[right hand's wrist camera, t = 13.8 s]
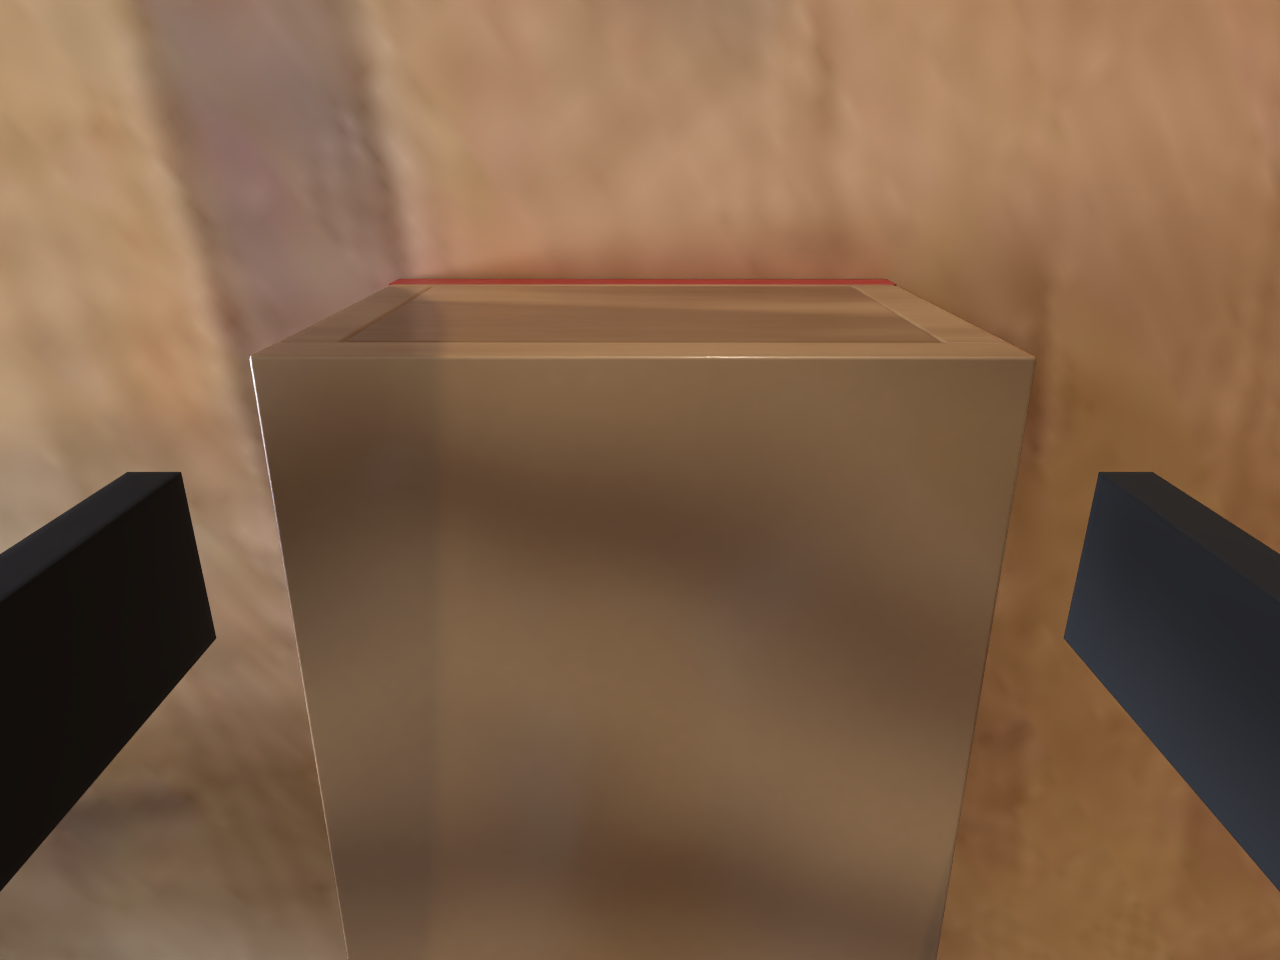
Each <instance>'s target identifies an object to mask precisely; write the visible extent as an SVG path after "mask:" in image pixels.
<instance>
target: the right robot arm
mask: <svg viewBox="0 0 1280 960" xmlns="http://www.w3.org/2000/svg"><path fill="white" fill-rule="evenodd" d="M215 639H216V635H215V630H214V625H213V621H212V616H211V611H210V606H209V602H208V597H207V592H206V588H205V583H204V578H203V573H202V569H201V564H200V559H199V555H198V550H197V545H196V541H195V536H194V531H193V526H192V522H191V517H190V512H189V508H188V503H187V498H186V493H185V489H184V484H183V479H182V475H181V472H127V473H125V474H124V475H122V476H121V477H119V478H118V479H116V480H114V481H113V482H111V483H110V484H108V485H107V486H105V487H104V488H102V489H100V490H99V491H97V492H96V493H94V494H93V495H91V496H90V497H88V498H87V499H85V500H83V501H82V502H80V503H79V504H77V505H76V506H74V507H73V508H71V509H70V510H68V511H66V512H65V513H63V514H62V515H60V516H59V517H57V518H56V519H54V520H52V521H51V522H49V523H48V524H46V525H45V526H43V527H42V528H40V529H39V530H37V531H35V532H34V533H32V534H31V535H29V536H28V537H26V538H25V539H23V540H22V541H20V542H18V543H17V544H15V545H14V546H12V547H11V548H9V549H8V550H6V551H5V552H3V553H1V554H0V891H1V890H2V889H3V888H4V887H5V885H6V884H7V883H8V882H9V881H10V880H11V878H12V877H13V876H14V875H15V874H16V873H17V871H18V870H19V869H20V868H21V867H22V866H23V864H24V863H25V862H26V861H27V860H28V858H29V857H30V856H31V855H32V854H33V853H34V851H35V850H36V849H37V848H38V847H39V846H40V844H41V843H42V842H43V841H44V840H45V839H46V837H47V836H48V835H49V834H50V833H51V832H52V830H53V829H54V828H55V827H56V826H57V824H58V823H59V822H60V821H61V820H62V819H63V817H64V816H65V815H66V814H67V813H68V812H69V810H70V809H71V808H72V807H73V806H74V805H75V803H76V802H77V801H78V800H79V799H80V797H81V796H82V795H83V794H84V793H85V792H86V790H87V789H88V788H89V787H90V786H91V785H92V783H93V782H94V781H95V780H96V779H97V778H98V776H99V775H100V774H101V773H102V772H103V770H104V769H105V768H106V767H107V766H108V765H109V763H110V762H111V761H112V760H113V759H114V758H115V756H116V755H117V754H118V753H119V752H120V751H121V749H122V748H123V747H124V746H125V745H126V743H127V742H128V741H129V740H130V739H131V738H132V736H133V735H134V734H135V733H136V732H137V731H138V729H139V728H140V727H141V726H142V725H143V724H144V722H145V721H146V720H147V719H148V718H149V717H150V715H151V714H152V713H153V712H154V711H155V709H156V708H157V707H158V706H159V705H160V704H161V702H162V701H163V700H164V699H165V698H166V697H167V695H168V694H169V693H170V692H171V691H172V690H173V688H174V687H175V686H176V685H177V684H178V682H179V681H180V680H181V679H182V678H183V677H184V675H185V674H186V673H187V672H188V671H189V670H190V668H191V667H192V666H193V665H194V664H195V663H196V661H197V660H198V659H199V658H200V657H201V655H202V654H203V653H204V652H205V651H206V650H207V648H208V647H209V646H210V645H211V644H212V643H213V641H214V640H215ZM1064 639H1065V640H1066V641H1067V643H1068V644H1069V645H1070V646H1071V647H1072V648H1073V650H1074V651H1075V652H1076V653H1077V654H1078V655H1079V657H1080V658H1081V659H1082V660H1083V661H1084V663H1085V664H1086V665H1087V666H1088V667H1089V668H1090V670H1091V671H1092V672H1093V673H1094V674H1095V675H1096V677H1097V678H1098V679H1099V680H1100V681H1101V682H1102V684H1103V685H1104V686H1105V687H1106V688H1107V690H1108V691H1109V692H1110V693H1111V694H1112V695H1113V697H1114V698H1115V699H1116V700H1117V701H1118V702H1119V704H1120V705H1121V706H1122V707H1123V708H1124V709H1125V711H1126V712H1127V713H1128V714H1129V715H1130V717H1131V718H1132V719H1133V720H1134V721H1135V722H1136V724H1137V725H1138V726H1139V727H1140V728H1141V729H1142V731H1143V732H1144V733H1145V734H1146V735H1147V736H1148V738H1149V739H1150V740H1151V741H1152V742H1153V743H1154V745H1155V746H1156V747H1157V748H1158V749H1159V751H1160V752H1161V753H1162V754H1163V755H1164V756H1165V758H1166V759H1167V760H1168V761H1169V762H1170V763H1171V765H1172V766H1173V767H1174V768H1175V769H1176V770H1177V772H1178V773H1179V774H1180V775H1181V776H1182V778H1183V779H1184V780H1185V781H1186V782H1187V783H1188V785H1189V786H1190V787H1191V788H1192V789H1193V790H1194V792H1195V793H1196V794H1197V795H1198V796H1199V797H1200V799H1201V800H1202V801H1203V802H1204V803H1205V805H1206V806H1207V807H1208V808H1209V809H1210V810H1211V812H1212V813H1213V814H1214V815H1215V816H1216V817H1217V819H1218V820H1219V821H1220V822H1221V823H1222V824H1223V826H1224V827H1225V828H1226V829H1227V830H1228V832H1229V833H1230V834H1231V835H1232V836H1233V837H1234V839H1235V840H1236V841H1237V842H1238V843H1239V844H1240V846H1241V847H1242V848H1243V849H1244V850H1245V851H1246V853H1247V854H1248V855H1249V856H1250V857H1251V858H1252V860H1253V861H1254V862H1255V863H1256V864H1257V866H1258V867H1259V868H1260V869H1261V870H1262V871H1263V873H1264V874H1265V875H1266V876H1267V877H1268V878H1269V880H1270V881H1271V882H1272V883H1273V884H1274V885H1275V887H1276V888H1277V889H1278V890H1279V891H1280V554H1279V553H1277V552H1275V551H1274V550H1272V549H1271V548H1269V547H1268V546H1266V545H1265V544H1263V543H1262V542H1260V541H1258V540H1257V539H1255V538H1254V537H1252V536H1251V535H1249V534H1248V533H1246V532H1245V531H1243V530H1241V529H1240V528H1238V527H1237V526H1235V525H1234V524H1232V523H1231V522H1229V521H1228V520H1226V519H1224V518H1223V517H1221V516H1220V515H1218V514H1217V513H1215V512H1214V511H1212V510H1210V509H1209V508H1207V507H1206V506H1204V505H1203V504H1201V503H1200V502H1198V501H1197V500H1195V499H1193V498H1192V497H1190V496H1189V495H1187V494H1186V493H1184V492H1183V491H1181V490H1180V489H1178V488H1176V487H1175V486H1173V485H1172V484H1170V483H1169V482H1167V481H1166V480H1164V479H1162V478H1161V477H1159V476H1158V475H1156V474H1155V473H1153V472H1099V475H1098V479H1097V484H1096V489H1095V493H1094V498H1093V503H1092V508H1091V512H1090V517H1089V522H1088V526H1087V531H1086V536H1085V541H1084V545H1083V550H1082V555H1081V559H1080V564H1079V569H1078V573H1077V578H1076V583H1075V588H1074V592H1073V597H1072V602H1071V606H1070V611H1069V616H1068V621H1067V625H1066V630H1065V635H1064Z"/></svg>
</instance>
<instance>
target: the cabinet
mask: <svg viewBox="0 0 1280 960" xmlns="http://www.w3.org/2000/svg"><path fill="white" fill-rule="evenodd" d="M250 364H251V371H252V377H253V383H254V389H255V395H256V401H257V407H258V413H259V419H260V426H261V432H262V438H263V444H264V450H265V456H266V462H267V468H268V475H269V481H270V487H271V493H272V499H273V505H274V511H275V517H276V523H277V530H278V536H279V542H280V548H281V554H282V560H283V566H284V572H285V579H286V585H287V591H288V597H289V603H290V609H291V615H292V621H293V628H294V634H295V640H296V646H297V652H298V658H299V664H300V670H301V676H302V683H303V689H304V695H305V701H306V707H307V713H308V719H309V725H310V732H311V738H312V744H313V750H314V756H315V762H316V768H317V774H318V780H319V787H320V793H321V799H322V805H323V811H324V817H325V823H326V829H327V836H328V842H329V848H330V854H331V860H332V866H333V872H334V878H335V884H336V891H337V897H338V903H339V909H340V915H341V921H342V927H343V933H344V940H345V946H346V952H347V958H348V960H936V958H937V952H938V946H939V940H940V934H941V928H942V922H943V916H944V910H945V904H946V898H947V892H948V886H949V880H950V874H951V868H952V862H953V856H954V850H955V844H956V838H957V832H958V826H959V820H960V814H961V808H962V802H963V796H964V790H965V784H966V778H967V772H968V766H969V760H970V754H971V748H972V742H973V736H974V730H975V724H976V718H977V712H978V706H979V700H980V694H981V688H982V682H983V676H984V670H985V664H986V658H987V652H988V646H989V640H990V634H991V628H992V622H993V616H994V610H995V604H996V598H997V592H998V586H999V580H1000V574H1001V568H1002V562H1003V556H1004V550H1005V544H1006V538H1007V532H1008V526H1009V520H1010V514H1011V508H1012V502H1013V496H1014V490H1015V484H1016V478H1017V472H1018V466H1019V460H1020V454H1021V448H1022V442H1023V436H1024V430H1025V424H1026V418H1027V412H1028V406H1029V400H1030V394H1031V388H1032V382H1033V376H1034V370H1035V364H1036V357H1035V356H1033V355H1031V354H1029V353H1027V352H1025V351H1023V350H1021V349H1019V348H1017V347H1015V346H1013V345H1011V344H1009V343H1008V342H1006V341H1004V340H1002V339H1000V338H998V337H996V336H994V335H992V334H990V333H988V332H986V331H984V330H982V329H980V328H978V327H976V326H974V325H973V324H971V323H969V322H967V321H965V320H963V319H961V318H959V317H957V316H955V315H953V314H951V313H949V312H947V311H945V310H943V309H941V308H939V307H937V306H935V305H933V304H931V303H929V302H927V301H925V300H923V299H921V298H919V297H917V296H915V295H914V294H912V293H910V292H908V291H906V290H904V289H902V288H900V287H898V286H896V284H895V283H893V282H891V281H889V280H887V279H398V280H396V281H394V282H392V283H390V284H389V286H388V287H386V288H384V289H382V290H380V291H378V292H376V293H374V294H373V295H371V296H369V297H367V298H365V299H363V300H361V301H359V302H357V303H355V304H353V305H351V306H349V307H347V308H345V309H343V310H341V311H339V312H337V313H335V314H333V315H331V316H329V317H327V318H325V319H323V320H321V321H319V322H317V323H315V324H314V325H312V326H310V327H308V328H306V329H304V330H302V331H300V332H298V333H296V334H294V335H292V336H290V337H288V338H286V339H284V340H282V341H280V342H277V343H275V344H273V345H271V346H269V347H267V348H265V349H263V350H261V351H259V352H257V353H255V354H253V355H251V356H250Z"/></svg>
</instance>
